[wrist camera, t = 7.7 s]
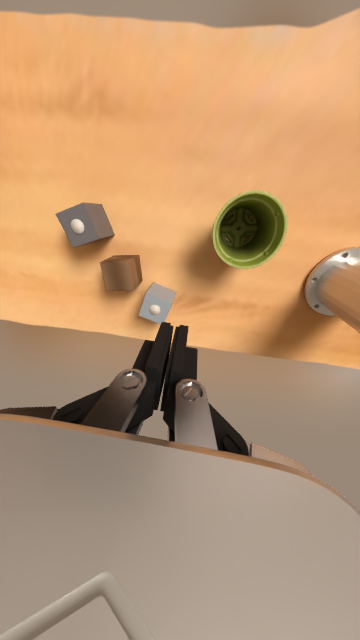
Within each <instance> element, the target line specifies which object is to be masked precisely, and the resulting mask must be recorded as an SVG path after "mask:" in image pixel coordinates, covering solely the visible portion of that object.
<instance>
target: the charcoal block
mask: <svg viewBox="0 0 360 640" xmlns="http://www.w3.org/2000/svg"><path fill="white" fill-rule="evenodd" d="M56 216H57V218H58V220H59V222H60V223H61V225H62V227H63V229H64V231H65V233H66V235H67V237H68V239H69V241H70V242H71V244H72V246H73V248H74V247H78V246H82V245H86V244H90V243H93V242H96V241H99V240H101V239H104V238H107V237H110V236H113V235H115V234H114V232H113V230H112V227H111V225H110V223H109V220H108V218H107V215H106V213H105V211H104V208H103V206H102V204H92V203H81V204H79V205H76V206H74V207H71V208H69V209H66V210H64V211H62V212H59V213H57V214H56Z"/></svg>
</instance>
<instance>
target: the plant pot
mask: <svg viewBox="0 0 360 640" xmlns="http://www.w3.org/2000/svg"><path fill="white" fill-rule="evenodd" d="M247 214H249V215H250V216H251V217H252V218H253V220H252V221H251V220H250V218H249V217H248V216H247ZM230 215H233V216H232V217H231V218H230V219H229V220H228V222H226V220H227V219H228V218H229V216H230ZM238 227H240V230H237V228H238ZM286 231H287V215H286V212H285V209H284V207H283V205H282V204H281V202H280V201H279V200H278V199H277V198H276V197H275V196H273V195H271V194H269V193H267V192H264V191H247V192H244V193H241V194H239V195H237V196H235V197H234V198H232V199H231V200H230V201H229V202H228V203H226V205H225V206H224V207H223V208H222V209H221V211H220V212H219V214H218V216H217V218H216V220H215V223H214V227H213V234H212V239H213V245H214V248H215V251H216V253H217V254H218V256H219V257H220V258H221V260H223V261H224V262H225V263H226V264H228V265H230V266H232V267H235V268H239V269H250V268H255V267H257V266H260V265H262V264H264V263H265V262H267V261H268V260H269V259H271V258H272V257H273V256H274V255H275V254H276V253H277V251H278V250H279V248H280V247H281V245H282V243H283V241H284V239H285V235H286ZM250 235H251V237H250V238H249V239H248V240H247V241H246V242H244V240H245V239H247V238H248V237H249V236H250ZM225 236H227V237H228V239H229V240H230V241H231V242H228V241H227V240H226V238H225Z"/></svg>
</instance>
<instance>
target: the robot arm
mask: <svg viewBox="0 0 360 640" xmlns="http://www.w3.org/2000/svg"><path fill="white" fill-rule="evenodd" d="M304 293H305V299H306V301H307V303H308V305H309V306H310V307H311V308H312V309H313V310H315V311H316V312H318V313H320V314H323V315H328V316H337V317H339V318H340V319H341V320H343V321H344V322H345V323H347V324H348V325H349V326H351V327H352V328H353V329H355V330H356V331H357V332H359V333H360V247H352V248H347V249H343V250H340V251H337V252H335V253H333V254H331V255H329V256H328V257H326V258H325V259H323V260H322V261H321V262H320V263H319V264H318V265H317V266H316V267H315V268H314V269H313V270H312V272H311V273H310V275H309V277H308V279H307V281H306V284H305V290H304ZM172 333H173V326H170V323H166V322H161V325H160V328H159V331H158V333H157V336H156V339H155V341H149V340H145V342H144V343H143V346H142V348H141V350H140V352H139V355H138V357H137V359H136V361H135V364H134V366H133V368H132V369H127V370H124V371H122V372H120V373H119V374H118V375H117V376H116V377H115V379H114V380H113V381H112V383H111V384H110V385H109V386H108V387H106V388H104V389H102V390H99V391H97V392H95V393H92V394H90V395H88V396H86V397H83V398H81V399H79V400H76V401H74V402H72V403H69V404H68V405H65V406H64V407H62V408H61V409H57V408H56V406H51V407H23V408H7V409H2V410H0V640H360V511H359V510H358V509H357V508H356V507H355V506H354V505H353V504H352V503H351V502H350V501H349V500H348V499H346V497H344V496H343V495H342V494H340V493H339V492H337V491H336V490H335V489H333V488H332V487H330V486H329V485H327V484H325V483H324V482H322V481H320V480H318V479H316V478H315V477H313V476H312V475H311V473H310V472H309V470H308V469H307V468H305V467H304V466H303V465H302V464H301V463H299V462H297V461H296V460H293V459H291V458H288V457H286V456H284V455H281V454H279V453H276V452H274V451H272V450H270V449H267V448H265V447H262V446H260V445H257V444H255V443H253V442H252V443H251V444H249V443H247V442H245V440H244V439H243V438H242V436H241V435H240V434H239V433H238V432H237V431H236V430H235V429H234V428H233V427H232V426H231V425H230V424H229V423H228V422H227V421H226V420H225V419H224V418H223V417H222V416H221V415H220V414H219V413H218V412H217V411H216V410H215V409H214V408H213V407H212V406H211V405H210V404H209V403H208V399H207V394H206V390H205V388H204V386H203V385H202V384H201V383H200V382H198V381H197V349H195V348H189V347H186V343H187V334H188V326H184V325H180V327H176V329H175V334H174V338H173V342H172V347H171V352H170V345H171V340H172ZM169 353H170V356H169ZM165 374H166V375H165ZM164 378H165V382H164ZM163 383H164V389H163V397H162V403H161V410H160V411H164V415H163V419H164V421H165V422H166V424H167V425H168V441H166V440H161V439H156V438H150V437H145V436H140V435H138V434H139V432H140V429H141V427H142V425H143V421H144V420H146V419H147V418H149V417H150V416H152V414H153V410H157V409H158V405H159V401H160V396H161V392H162V387H163Z"/></svg>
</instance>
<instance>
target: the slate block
mask: <svg viewBox="0 0 360 640" xmlns="http://www.w3.org/2000/svg"><path fill="white" fill-rule="evenodd" d="M175 295H176V292H175V291H173V290H171V289H168V288H166V287H164V286H161V285H159V284H157V283H153V284H152V285H151V287H150V288H149V290H148V291H147V292H146V295H145V298H144V301H143V304H142V306H141V309H140V312H139V316H141V317H144V318H146V319H149V320H151V321H153V322H156V323H158V324H161V322H165V320H166V317H167V315H168V313H169V311H170V308H171V306H172V304H173V301H174V298H175Z"/></svg>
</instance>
